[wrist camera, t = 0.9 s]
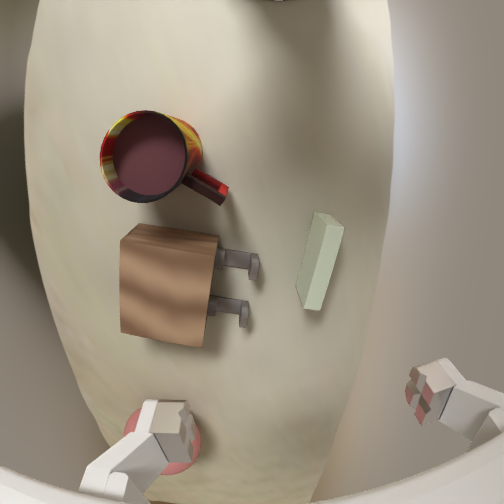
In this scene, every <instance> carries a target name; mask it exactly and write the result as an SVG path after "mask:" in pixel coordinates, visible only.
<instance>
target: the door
mask: <svg viewBox="0 0 504 504" xmlns="http://www.w3.org/2000/svg"><path fill="white" fill-rule="evenodd" d="M344 229H345V228H344V227H343V226H342V225H341V224H340V223H339V222H338V221H337V220H335V219H334V218H333V217H332V216H331V215H330V214H325V213H320V212H315V211H314V215H313V219H312V223H311V228H310V232H309V236H308V240H307V244H306V248H305V252H304V255H303V259H302V263H301V267H300V271H299V275H298V278H297V282H296V289H297V291H298V294H299V297H300V300H301V303H302V305H303V308H304V309H311V310H320V309H321V306H322V303H323V300H324V297H325V293H326V290H327V287H328V284H329V281H330V277H331V274H332V271H333V267H334V264H335V261H336V257H337V254H338V250H339V247H340V243H341V240H342V236H343V232H344Z"/></svg>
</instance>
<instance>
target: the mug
mask: <svg viewBox="0 0 504 504" xmlns="http://www.w3.org/2000/svg"><path fill="white" fill-rule="evenodd" d="M201 156H202V145H201V141H200V138H199V136H198V134H197V132H196V131H195V129H194V128H193V127H192V126H191V125H190V124H188V123H186V122H185V121H183V120H180V119H177V118H174V117H171V116H168V115H165V114H161V113H158V112H155V111H147V110H145V111H136V112H133V113H130V114H127V115H126V116H124V117H122V118H120V119H119V120H118V121H117V122H116V123H114V124H113V126H112V127H111V128H110V129H109V130H108V132H107V134H106V136H105V137H104V140H103V143H102V146H101V151H100V166H101V171H102V174H103V176H104V179H105V181H106V183H107V184H108V185H109V187H110V188H111V189H112V190H113V191H114V192H115V193H116V194H117V195H119V196H120V197H122V198H123V199H126V200H128V201H131V202H137V203H148V202H153V201H156V200H159V199H161V198H163V197H165V196H166V195H167V194H169V193H170V192H172V191H173V190H174V189H175V188H177V187H178V186H179V185H180V184H184V185H186V186H188V187H189V188H191V189H193V190H194V191H196V192H198V193H200V194H201V195H203V196H205V197H207V198H208V199H210V200H212V201H213V202H215V203H216V204H218V205H219V206H221V204H222V203H223V201H224V200H225V198H226V194H227V192H228V188H229V187H228V186H226V185H225V184H223V183H222V182H220V181H218V180H216V179H215V178H213V177H211V176H210V175H208V174H206V173H204V172H203V171H201V170H199V169H198V165H199V163H200V160H201ZM191 175H192V176H191ZM193 176H194V177H195V178H194V177H193ZM196 178H197V179H196ZM198 179H199V180H198ZM200 180H201V181H202V182H201V181H200ZM203 182H204V183H203ZM205 183H206V184H205ZM208 185H209V186H208ZM210 186H211V187H210ZM212 187H213V188H214V189H213V188H212ZM215 189H216V190H215ZM217 190H218V191H217Z"/></svg>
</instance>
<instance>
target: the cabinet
mask: <svg viewBox="0 0 504 504" xmlns="http://www.w3.org/2000/svg"><path fill="white" fill-rule="evenodd" d="M218 239H219V236H216V235H210V234H204V233H198V232H192V231H185V230H179V229H173V228H166V227H160V226H154V225H147V224H141V223H139V224H138V225H137V226H136V227H134V228H133V229H132V230H131V231H130V232H129V233H128V234H127V235H126V236H125V237H124V238H123V239H122V240H120V325H121V333H126V334H130V335H135V336H140V337H145V338H150V339H155V340H160V341H165V342H170V343H176V344H182V345H188V346H194V347H200V348H202V345H203V339H204V332H205V326H206V320H207V315H210V316H215V311H222V312H229V313H235V314H239V327H243V328H246V325H247V320H248V315H249V311H248V301H243V300H237V299H230V298H223V297H217V296H211V295H210V292H211V285H212V278H213V271H214V268H217V269H222V267H223V265H228V266H234V267H240V268H247V269H248V275H249V280H255V281H256V278H257V273H258V269H259V259H258V254H254V253H248V252H241V251H235V250H229V249H223V248H217V245H218Z"/></svg>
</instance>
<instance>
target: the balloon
mask: <svg viewBox="0 0 504 504" xmlns="http://www.w3.org/2000/svg"><path fill="white" fill-rule="evenodd" d="M141 409H142V407H141V408H139V409H138V410H136V411H135V412H134V413H133V414H132V415H131V416H130V418H129V419H128V421H127V423H126V426H125V429H124V437H125V436H126V435H127V434H129V433H130V432H135V428H136V425H137V422H138V419H139V415H140V412H141ZM191 443H192V445H193V448H194V450H193V459H192V463H170V462H169V465H168V466H167V467H166V468H165V469H164V470H163V472H162V473H161V474H160V475H173V474H177V473H180V472H182V471H184V470H186V469H188V468H189V467H190V466H191V465H192V464H193V463H194V462H195V461H196V459H197V457H198V455H199V453H200V449H201V436H200V432H199V429H198V427H197V425H196V423H195V439H194V440H193V441H192V442H191Z"/></svg>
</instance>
